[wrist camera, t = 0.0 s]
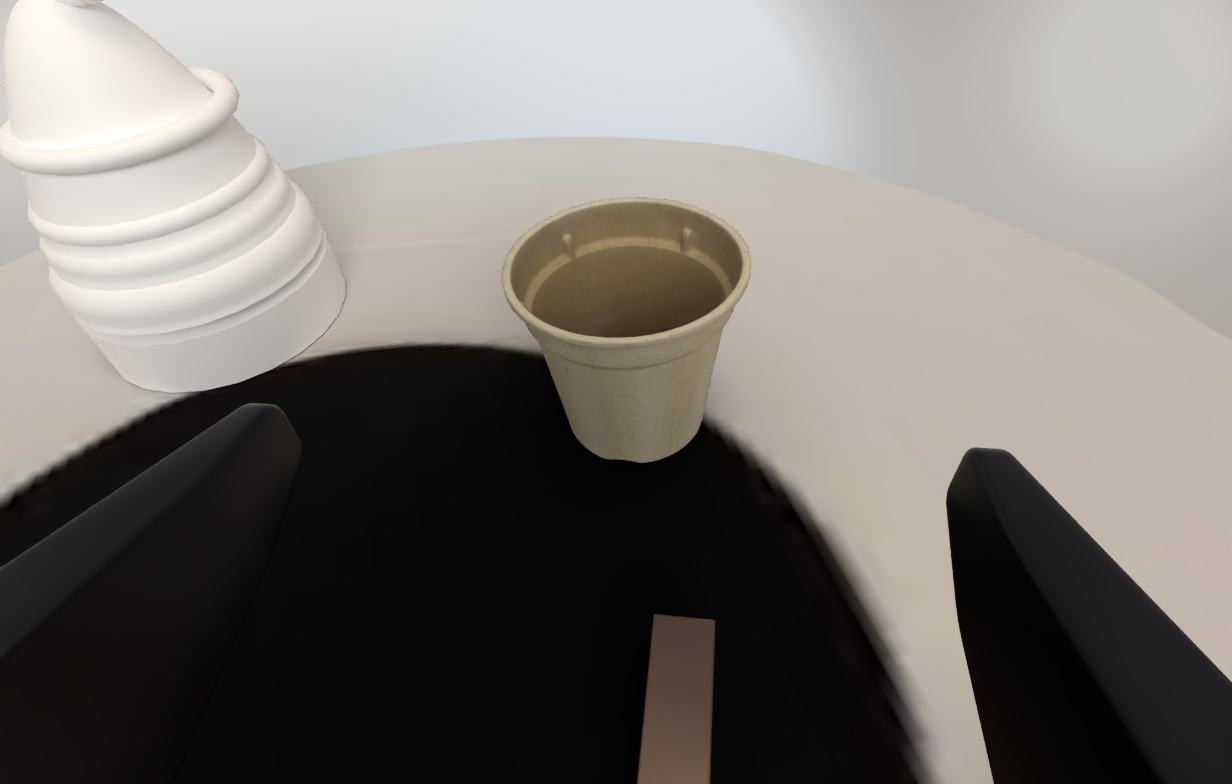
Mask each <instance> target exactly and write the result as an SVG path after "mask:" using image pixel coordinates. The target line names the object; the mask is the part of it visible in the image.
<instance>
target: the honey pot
mask: <svg viewBox="0 0 1232 784" xmlns="http://www.w3.org/2000/svg"><path fill="white" fill-rule="evenodd" d="M101 1H103V0H18V2H17V3H16V5H15V6H14V7H13V9H12V12H11V14H10V17H9V19H8V23H7V28H6V33H5V43H4V54H3V56H4V84H5V95H6V102H7V109H8V116H9V118H8V120H7V121H6V122H5V123H4V125H3V126H2V127H1V128H0V155H1V156H2V157H3V158H4V159H5V160H6V161H7V162H8V163H9V164H10V165H11V166H13V167H16V168H18V169H20V171H21V175H22V178H23V182H24V185H25V189H26V193H27V196H28V200H29V203H28V219H29V221H30V223H31V224H32V225H33V227H34V228H35V229H36V230H37V231H38V232H39V234H40V249H41V251H42V253H43V255H44V256H45V258H46V259H47V260H48V261H49V283H50V285H51V287H52V289H53V291H54V293H55V295H56V296H57V297H58V298H59V300H60V301H61V302H62V303H63V304H64V306H65V307H66V308H67V310H68V311H69V312H70V313H71V314H72V316H73V317H74V318H75V320H76V321H77V322H78V323H79V325H80V326H81V327H82V328H83V329H84V331H85V332H86V333H87V334H88V336H89V337H90V338H91V339H92V341H93V342H94V343H95V344H96V346H97V347H98V348H99V349H100V350H101V352H102V353H103V354H104V355H105V357H106V358H107V359H108V360H109V362H110V363H111V364H112V365H113V367H114V368H115V369H116V370H117V371H118V373H119V374H120V375H121V376H122V377H123V379H124V380H126V381H128V382H130V383H133V384H135V385H137V386H139V387H141V388H143V389H147V390H155V391H162V392H169V393H178V392H192V391H205V390H209V389H214V388H218V387H222V386H226V385H230V384H235V383H239V382H241V381H244V380H246V379H249V378H251V377H254V376H256V375H259V374H261V373H264V372H267V371H269V370H272V369H273V368H275V367H277V366H279V365H280V364H282V363H284V362H286V361H287V360H289V359H291V358H292V357H294V356H296V355H298V354H299V353H301V352H302V351H303V350H305V349H306V348H307V347H308V346H309V345H311V344H312V343H313V342H314V341H316V340H317V339H318V338H319V337H320V336H322V335H323V334H324V333H325V331H326V330H327V329H328V328H329V326H330V325H331V324H332V323H333V321H334V320H335V319H336V317H337V316H338V315H339V313H340V310H341V308H342V305H343V303H344V300H345V297H346V288H345V279H344V277H343V274H342V272H341V269H340V267H339V265H338V262H337V260H336V258H335V255H334V253H333V250H332V248H331V246H330V243H329V241H328V238H327V236H326V234H325V232H324V231H323V229H322V224H321V223H320V221H319V219H318V218H317V216H316V211H315V208H314V206H313V205H312V203H311V202H310V200H309V198H308V197H307V195H306V194H305V193H304V191H303V190H302V188H301V187H299V186H298V185H296V184H295V183H293V182H292V181H290V180H289V179H288V177H287V176H286V174H285V172H284V171H283V169H282V168H281V166H280V165H279V163H277V162H276V161H275V160H273V159H271V158H270V156H269V153H268V151H267V149H266V148H265V146H264V144H263V143H262V142H261V140H260V139H258V138H257V137H255V136H253V135H251V134H250V133H248V132H247V130H246V129H245V128H244V127H243V126H242V125H241V124H240V123H239V122H238V120H237V119H236V118H235V117H234V116H233V115H232V114H233V113H234V112H235V110H236V108H237V104H238V99H239V92H238V90H237V88H236V87H235V85H234V83H233V82H232V80H231V79H230V78H229V77H227V76H225V75H223V74H221V73H219V72H217V71H215V70H212V69H207V68H201V67H195V66H184V65H183V64H181V63H180V62H179V61H178V60H177V59H176V58H175V57H174V56H173V55H172V54H170V53H169V52H168V51H167V50H166V49H165V48H164V47H162V46H161V45H160V44H159V43H157V41H155V40H154V39H153V38H152V37H150V36H149V35H148V34H147V33H145V32H144V31H143V30H141V29H140V28H139V27H138V26H136V25H135V24H134V23H132V22H131V21H129V20H128V19H127V18H125V17H124V16H122V15H121V14H119V13H118V12H116V11H115V10H113V9H111V8H110V7H107V6H106V5H104V4H103V3H101ZM211 92H212V93H213V94H212V93H211Z"/></svg>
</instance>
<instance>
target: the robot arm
mask: <svg viewBox="0 0 1232 784" xmlns="http://www.w3.org/2000/svg"><path fill="white" fill-rule="evenodd" d="M302 453H303V452H302V444H301V441H300V439H299V438H298V436H297V434H296V433H295V431H294V429H293V428H292V426H291V424H290V423H289V421H288V419H287V418H286V416H285V414H284V413H283V411H282V410H281V409H280V408H279V407H277V406H276V405H271V404H255V403H251V404H246V405H243V406H242V407H240V408H238V409H237V410H235V411H234V412H232V413H231V414H229V415H228V416H226V417H225V418H224V419H222V420H221V421H219V422H218V423H216V424H215V425H213V426H212V427H210V428H209V429H207V430H206V431H204V432H203V433H201V434H200V435H198V436H197V437H195V438H194V439H192V440H191V441H189V442H188V443H186V444H185V445H183V446H182V447H180V448H179V449H177V450H176V451H174V452H173V453H171V454H170V455H168V456H167V457H165V458H164V459H162V460H161V461H159V462H158V463H156V464H155V465H153V466H152V467H150V468H149V469H148V470H146V471H145V472H143V473H142V474H140V475H139V476H137V477H136V478H134V479H133V480H131V481H130V482H128V483H127V484H125V485H124V486H122V487H121V488H119V489H118V490H116V491H115V492H113V493H112V494H110V495H109V496H107V497H106V498H104V499H103V500H101V501H100V502H98V503H97V504H95V505H94V506H92V507H91V508H89V509H88V510H86V511H85V512H83V513H82V514H80V515H79V516H77V517H76V518H74V519H73V520H71V521H70V522H68V523H67V524H65V525H64V526H63V527H61V528H60V529H58V530H57V531H55V532H54V533H52V534H51V535H49V536H48V537H46V538H45V539H43V540H42V541H40V542H39V543H37V544H36V545H34V546H33V547H31V548H30V549H28V550H27V551H25V552H24V553H22V554H21V555H19V556H18V557H16V558H15V559H13V560H12V561H10V562H9V563H7V564H6V565H4V566H3V567H1V568H0V784H174V782H175V779H176V777H177V775H178V772H179V770H180V768H181V765H182V763H183V761H184V758H185V756H186V754H187V751H188V749H189V747H190V744H191V742H192V740H193V738H194V735H195V733H196V731H197V728H198V726H199V724H200V721H201V719H202V717H203V714H204V712H205V710H206V707H207V705H208V703H209V700H210V698H211V696H212V693H213V691H214V689H215V686H216V684H217V682H218V680H219V677H220V675H221V673H222V670H223V668H224V666H225V663H226V661H227V659H228V656H229V654H230V652H231V649H232V647H233V645H234V642H235V640H236V638H237V635H238V633H239V631H240V628H241V626H242V624H243V622H244V619H245V617H246V615H247V612H248V610H249V608H250V605H251V603H252V601H253V598H254V596H255V594H256V591H257V589H258V587H259V584H260V582H261V580H262V577H263V575H264V573H265V570H266V568H267V565H268V563H269V560H270V558H271V555H272V552H273V550H274V547H275V544H276V541H277V538H278V535H279V531H280V528H281V525H282V522H283V518H284V515H285V512H286V509H287V505H288V502H289V499H290V496H291V492H292V489H293V486H294V483H295V480H296V476H297V473H298V470H299V467H300V463H301V460H302ZM946 507H947V518H948V528H949V538H950V549H951V559H952V569H953V579H954V590H955V600H956V608H957V616H958V623H959V628H960V633H961V638H962V643H963V647H964V652H965V656H966V661H967V665H968V670H969V674H970V679H971V683H972V687H973V692H974V696H975V701H976V705H977V710H978V714H979V719H980V723H981V728H982V732H983V737H984V741H985V746H986V750H987V754H988V759H989V763H990V768H991V772H992V777H993V781H994V784H1232V682H1231V681H1230V680H1229V679H1228V678H1227V677H1226V676H1225V675H1224V674H1223V673H1222V672H1221V671H1220V670H1219V669H1218V668H1217V666H1216V665H1215V664H1214V663H1213V662H1212V661H1211V660H1210V659H1209V658H1208V657H1207V656H1206V655H1205V654H1204V653H1203V652H1202V651H1201V650H1200V649H1199V648H1198V647H1197V646H1196V645H1195V644H1194V643H1193V642H1192V641H1191V640H1190V639H1189V637H1188V636H1187V635H1186V634H1185V633H1184V632H1183V631H1182V630H1181V629H1180V628H1179V627H1178V626H1177V625H1176V624H1175V623H1174V622H1173V621H1172V620H1171V619H1170V618H1169V617H1168V616H1167V615H1166V614H1165V613H1164V612H1163V611H1162V610H1161V608H1160V607H1159V606H1158V605H1157V604H1156V603H1155V602H1154V601H1153V600H1152V599H1151V598H1150V597H1149V596H1148V595H1147V594H1146V593H1145V592H1144V591H1143V590H1142V589H1141V588H1140V587H1139V586H1138V585H1137V584H1136V583H1135V582H1134V581H1133V579H1132V578H1131V577H1130V576H1129V575H1128V574H1127V573H1126V572H1125V571H1124V570H1123V569H1122V568H1121V567H1120V566H1119V565H1118V564H1117V563H1116V562H1115V561H1114V560H1113V559H1112V558H1111V557H1110V556H1109V555H1108V554H1107V553H1106V552H1105V550H1104V549H1103V548H1102V547H1101V546H1100V545H1099V544H1098V543H1097V542H1096V541H1095V540H1094V539H1093V538H1092V537H1091V536H1090V535H1089V534H1088V533H1087V532H1086V531H1085V530H1084V529H1083V528H1082V527H1081V526H1080V525H1079V524H1078V523H1077V521H1076V520H1075V519H1074V518H1073V517H1072V516H1071V515H1070V514H1069V513H1068V512H1067V511H1066V510H1065V509H1064V508H1063V507H1062V506H1061V505H1060V504H1059V503H1058V502H1057V501H1056V500H1055V499H1054V498H1053V497H1052V496H1051V495H1050V494H1049V492H1048V491H1047V490H1046V489H1045V488H1044V487H1043V486H1042V485H1041V484H1040V483H1039V482H1038V481H1037V480H1036V479H1035V478H1034V477H1033V476H1032V475H1031V474H1030V473H1029V472H1028V471H1027V470H1026V469H1025V468H1024V467H1023V466H1022V465H1021V463H1020V462H1019V461H1018V460H1017V459H1016V458H1015V457H1014V456H1013V455H1012V454H1010V453H1009V452H1007V451H1005V450H1002V449H991V448H971V449H969V450H968V451H967V452H966V453H965V455H964V456H963V458H962V460H961V462H960V465H959V467H958V469H957V471H956V473H955V475H954V477H953V479H952V481H951V483H950V485H949V488H948V491H947V497H946Z"/></svg>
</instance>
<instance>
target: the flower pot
mask: <svg viewBox="0 0 1232 784" xmlns="http://www.w3.org/2000/svg"><path fill="white" fill-rule="evenodd" d="M750 275H751V256H750V253H749V248H748V246H747V244H746V243H745V241H744V239H743V238H742V237H741V235H740V234H739V233H738V231H737V230H735V229H734V228H733V227H732V226H730V225H729V224H728V223H727V222H725V220H723V219H721V218H719V217H717V216H715V215H714V214H712V213H710V212H708V211H705V210H703V209H700V208H698V207H695V206H692V205H689V204H685V203H681V202H677V201H672V200H666V199H656V198H646V197H634V198H630V197H628V198H612V199H606V200H599V201H593V202H589V203H586V204H581V205H579V206H575V207H571V208H569V209H567V210H563V211H560V212H558V213H556V214H555V215H553V216H550V217H549V218H547V219H545V220H543V221H542V222H540V223H538V224H537V225H536V226H534V227H532V228H531V229H530V230H529V231H527V232H526V233H525V234H523V236H522V237H520V238H519V239H518V241H517V242H516V243H515V244H514V245H513V246H512V249H511V250H510V251H509V253H508V255H507V257H506V259H505V262H504V266H503V268H502V286H503V289H504V293H505V296H506V298H507V300H508V302H509V305H510V306H511V308H512V309H513V311H514V312H515V313H516V314H517V315H518V316H519V317H520V318H521V319H522V320H523V321H524V322H525V324H526V326H527V328H528V329H529V331H530V332H531V334H532V335H533V336H534V337H535V338H536V339H537V340H538V342H539V344H540V347H541V349H542V352H543V354H544V357H545V359H546V362H547V364H548V367H549V369H550V372H551V375H552V377H553V380H554V383H555V385H556V388H557V390H558V393H559V396H560V398H561V401H562V404H563V406H564V409H565V412H566V414H567V417H568V419H569V422H570V426H571V428H572V431H573V433H574V434H575V436H576V438H577V439H578V440H579V441H580V442H581V444H582V445H584V446H585V447H586V448H587V449H588V450H590V451H591V452H593V453H594V454H596V455H598V456H600V457H602V458H605V459H621V460H628V461H634V462H638V463H646V462H652V461H656V460H659V459H662V458H665V457H668V456H670V455H672V454H674V453H675V452H677V451H679V450H680V449H681V448H683V447H684V446H685V445H686V444H688V443H689V442H690V440H691V439H692V438H693V437H694V436H695V434H696V433H697V431H698V429H699V427H700V424H701V421H702V418H703V415H704V408H705V403H706V399H707V394H708V390H709V385H710V380H711V376H712V372H713V367H714V363H715V359H716V355H717V351H718V347H719V343H720V338H721V334H722V330H723V327H724V326H725V325H726V323H727V322H728V320H729V318H730V316H731V314H732V312H733V309H734V306H735V305H736V304H737V302H738V301H739V300H740V298H741V297H742V295H743V293H744V292H745V290H746V288H747V285H748V282H749V279H750Z"/></svg>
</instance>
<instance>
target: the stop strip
mask: <svg viewBox="0 0 1232 784" xmlns="http://www.w3.org/2000/svg"><path fill="white" fill-rule="evenodd" d="M714 646H715V620H710V619H700V618H689V617H679V616H669V615H659V614H654V616H653V626H652V636H651V646H650V657H649V667H648V677H647V687H646V697H645V707H644V717H643V727H642V737H641V747H640V757H639V767H638V778H637V784H710V771H711V740H712V708H713V677H714Z"/></svg>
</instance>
